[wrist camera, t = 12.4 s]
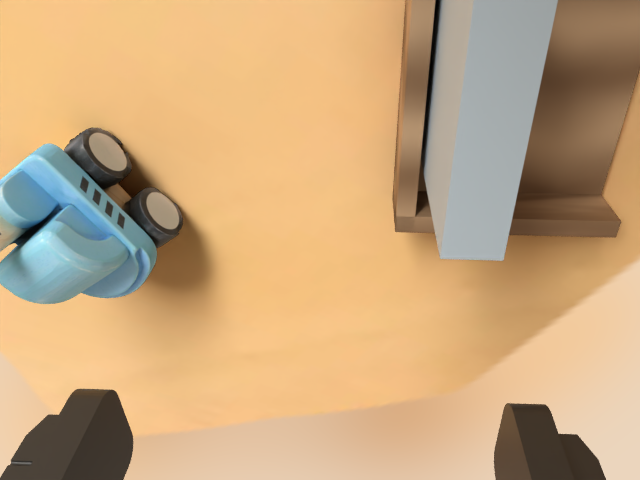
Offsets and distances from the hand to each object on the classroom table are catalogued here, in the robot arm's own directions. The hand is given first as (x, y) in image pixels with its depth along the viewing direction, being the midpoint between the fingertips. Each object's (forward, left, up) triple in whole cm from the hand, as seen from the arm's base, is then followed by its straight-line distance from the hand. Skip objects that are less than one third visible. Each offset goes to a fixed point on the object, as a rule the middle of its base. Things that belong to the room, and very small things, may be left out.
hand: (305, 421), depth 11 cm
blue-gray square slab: (0, +7, -26) cm, 27 cm away
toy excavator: (+8, -20, -28) cm, 35 cm away
